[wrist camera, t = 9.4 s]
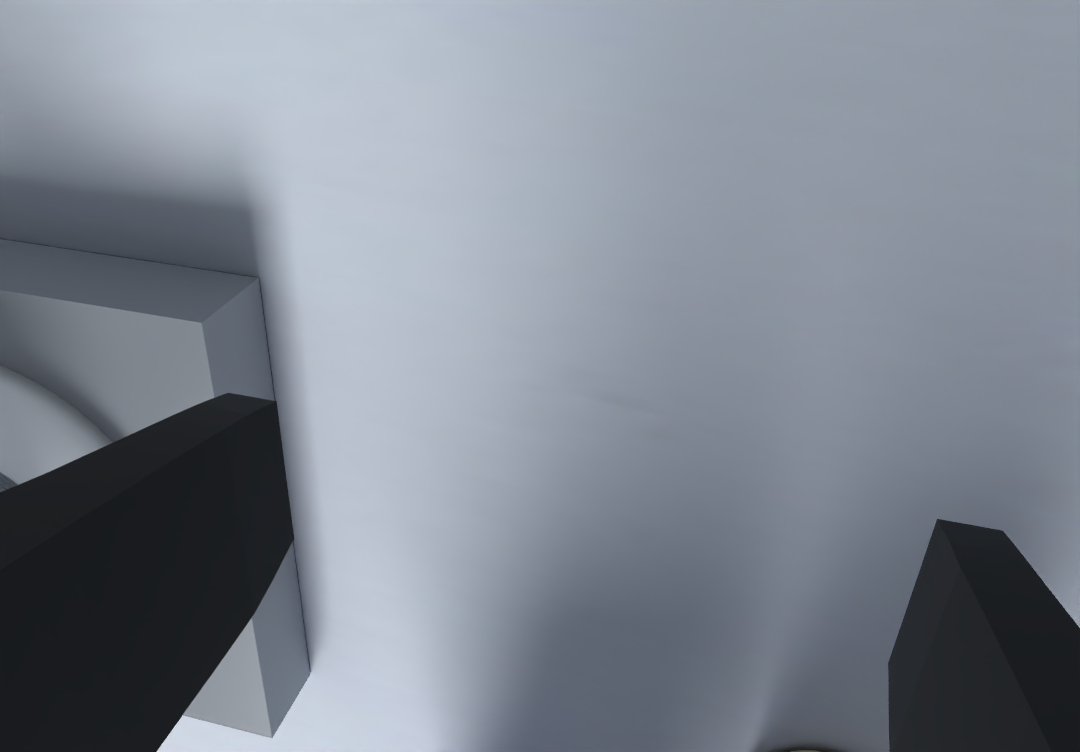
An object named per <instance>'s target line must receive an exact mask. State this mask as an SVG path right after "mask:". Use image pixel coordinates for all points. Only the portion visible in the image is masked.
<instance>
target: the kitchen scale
mask: <svg viewBox="0 0 1080 752" xmlns="http://www.w3.org/2000/svg"><path fill="white" fill-rule="evenodd" d="M226 393H233V394H239V395H245V396H250V397H256V398H261V399H267V400H273V401H275V400H274V392H273V384H272V376H271V369H270V361H269V353H268V346H267V338H266V330H265V323H264V315H263V307H262V299H261V292H260V284H259V278H256V277H249V276H243V275H236V274H229V273H223V272H216V271H209V270H203V269H196V268H190V267H183V266H176V265H170V264H163V263H156V262H150V261H143V260H137V259H130V258H123V257H117V256H110V255H103V254H97V253H90V252H84V251H77V250H70V249H64V248H57V247H50V246H44V245H37V244H31V243H24V242H17V241H11V240H4V239H0V472H1V473H2V474H4V475H5V476H7V477H8V478H10V479H11V480H13V481H14V482H15V483H17V484H18V485H19V484H21V483H24V482H26V481H29V480H31V479H33V478H36V477H38V476H40V475H43V474H45V473H47V472H50V471H52V470H54V469H56V468H58V467H61V466H63V465H65V464H67V463H69V462H72V461H74V460H76V459H78V458H80V457H82V456H85V455H87V454H89V453H91V452H93V451H96V450H98V449H100V448H102V447H104V446H107V445H109V444H111V443H113V442H115V441H117V440H120V439H122V438H124V437H126V436H128V435H130V434H133V433H135V432H137V431H139V430H141V429H143V428H146V427H148V426H150V425H152V424H154V423H157V422H159V421H161V420H163V419H165V418H168V417H170V416H172V415H174V414H177V413H179V412H181V411H183V410H186V409H188V408H190V407H193V406H195V405H197V404H200V403H202V402H205V401H207V400H210V399H212V398H215V397H218V396H221V395H223V394H226ZM309 675H310V669H309V662H308V654H307V646H306V639H305V631H304V623H303V615H302V608H301V600H300V592H299V585H298V577H297V569H296V561H295V554H294V546H293V542H292V544H291V546H290V548H289V550H288V552H287V554H286V556H285V558H284V559H283V561H282V563H281V565H280V567H279V569H278V571H277V573H276V575H275V577H274V579H273V581H272V583H271V585H270V587H269V588H268V590H267V592H266V594H265V596H264V597H263V599H262V601H261V603H260V605H259V607H258V608H257V610H256V612H255V614H254V615H253V617H252V618H251V619H250V621H249V622H248V624H247V625H246V627H245V628H244V630H243V631H242V633H241V634H240V635H239V637H238V638H237V640H236V641H235V642H234V644H233V645H232V647H231V648H230V650H229V651H228V652H227V654H226V655H225V657H224V658H223V659H222V661H221V662H220V664H219V665H218V667H217V668H216V669H215V671H214V672H213V674H212V675H211V676H210V678H209V679H208V681H207V682H206V683H205V685H204V686H203V687H202V689H201V690H200V692H199V693H198V694H197V696H196V697H195V699H194V700H193V701H192V703H191V704H190V706H189V707H188V708H187V710H186V711H185V712H184V714H183V715H184V716H188V717H192V718H195V719H199V720H203V721H207V722H211V723H215V724H219V725H223V726H227V727H231V728H235V729H238V730H242V731H246V732H250V733H254V734H258V735H262V736H266V737H270V738H272V737H273V736H274V734H275V732H276V731H277V729H278V727H279V726H280V724H281V722H282V721H283V719H284V717H285V716H286V714H287V712H288V711H289V709H290V707H291V706H292V704H293V702H294V701H295V699H296V697H297V696H298V694H299V692H300V691H301V689H302V687H303V686H304V684H305V682H306V681H307V679H308V677H309Z"/></svg>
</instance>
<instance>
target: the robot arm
mask: <svg viewBox="0 0 1080 752" xmlns="http://www.w3.org/2000/svg"><path fill="white" fill-rule="evenodd" d="M293 540H294V535H293V528H292V520H291V512H290V504H289V497H288V489H287V481H286V473H285V466H284V458H283V450H282V442H281V434H280V427H279V419H278V411H277V403H276V401H273V400H267V399H261V398H256V397H250V396H245V395H239V394H233V393H226V394H223V395H221V396H218V397H215V398H212V399H210V400H207V401H205V402H202V403H200V404H197V405H195V406H193V407H190V408H188V409H186V410H183V411H181V412H179V413H177V414H174V415H172V416H170V417H168V418H165V419H163V420H161V421H159V422H157V423H154V424H152V425H150V426H148V427H146V428H143V429H141V430H139V431H137V432H135V433H133V434H130V435H128V436H126V437H124V438H122V439H120V440H117V441H115V442H113V443H111V444H109V445H107V446H104V447H102V448H100V449H98V450H96V451H93V452H91V453H89V454H87V455H85V456H82V457H80V458H78V459H76V460H74V461H72V462H69V463H67V464H65V465H63V466H61V467H58V468H56V469H54V470H52V471H50V472H47V473H45V474H43V475H40V476H38V477H36V478H33V479H31V480H29V481H26V482H24V483H21V484H19V485H17V486H14V487H12V488H10V489H7V490H5V491H2V492H0V752H156V751H157V750H158V749H159V747H160V746H161V744H162V743H163V742H164V740H165V739H166V737H167V736H168V735H169V733H170V732H171V731H172V729H173V728H174V726H175V725H176V724H177V722H178V721H179V719H180V718H181V717H182V715H183V714H184V712H185V711H186V710H187V708H188V707H189V706H190V704H191V703H192V701H193V700H194V699H195V697H196V696H197V694H198V693H199V692H200V690H201V689H202V687H203V686H204V685H205V683H206V682H207V681H208V679H209V678H210V676H211V675H212V674H213V672H214V671H215V669H216V668H217V667H218V665H219V664H220V662H221V661H222V659H223V658H224V657H225V655H226V654H227V652H228V651H229V650H230V648H231V647H232V645H233V644H234V642H235V641H236V640H237V638H238V637H239V635H240V634H241V633H242V631H243V630H244V628H245V627H246V625H247V624H248V622H249V621H250V619H251V618H252V617H253V615H254V614H255V612H256V610H257V608H258V607H259V605H260V603H261V601H262V599H263V597H264V596H265V594H266V592H267V590H268V588H269V587H270V585H271V583H272V581H273V579H274V577H275V575H276V573H277V571H278V569H279V567H280V565H281V563H282V561H283V559H284V558H285V556H286V554H287V552H288V550H289V548H290V546H291V544H292V542H293ZM888 669H889V741H890V752H1080V628H1079V627H1078V625H1077V624H1076V623H1075V622H1074V620H1073V619H1072V618H1071V617H1070V615H1069V614H1068V613H1067V611H1066V610H1065V609H1064V608H1063V606H1062V605H1061V604H1060V603H1059V601H1058V600H1057V599H1056V598H1055V596H1054V595H1053V594H1052V592H1051V591H1050V590H1049V589H1048V587H1047V586H1046V585H1045V583H1044V582H1043V581H1042V580H1041V578H1040V577H1039V576H1038V574H1037V573H1036V572H1035V571H1034V569H1033V568H1032V567H1031V565H1030V564H1029V563H1028V562H1027V560H1026V559H1025V558H1024V556H1023V555H1022V554H1021V553H1020V551H1019V550H1018V549H1017V548H1016V546H1015V545H1014V544H1013V543H1012V541H1011V540H1010V539H1009V538H1008V537H1007V535H1006V534H1005V533H1004V532H1003V531H1001V530H996V529H990V528H984V527H979V526H973V525H968V524H962V523H956V522H951V521H945V520H940V519H937V521H936V524H935V527H934V530H933V533H932V536H931V539H930V542H929V545H928V548H927V551H926V554H925V557H924V560H923V563H922V566H921V569H920V572H919V575H918V577H917V580H916V583H915V586H914V589H913V592H912V595H911V598H910V601H909V604H908V607H907V610H906V613H905V616H904V619H903V622H902V625H901V628H900V631H899V634H898V636H897V639H896V642H895V645H894V648H893V651H892V654H891V657H890V660H889V663H888Z"/></svg>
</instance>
